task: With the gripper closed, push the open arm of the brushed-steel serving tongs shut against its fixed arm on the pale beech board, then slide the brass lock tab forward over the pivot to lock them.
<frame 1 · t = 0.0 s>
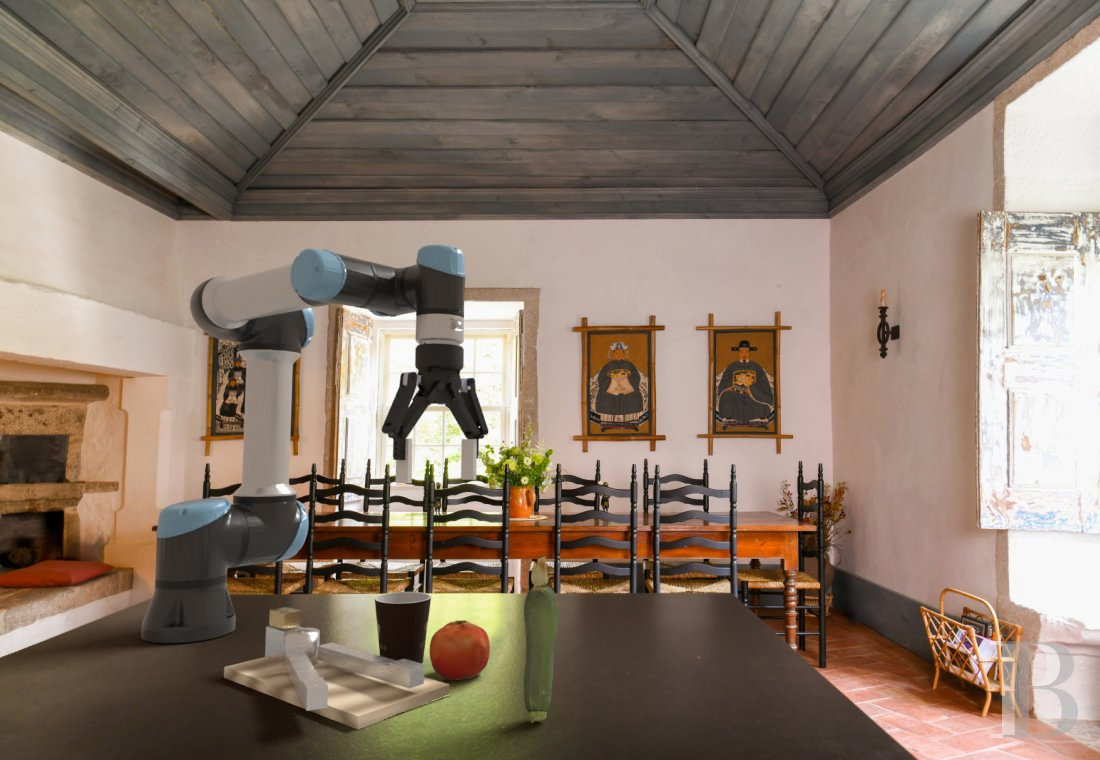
hand: (437, 481, 114), 28 cm above the table, fingers open, 13 cm apart
tomato: (460, 677, 108), on the table
board: (332, 686, 103), on the table
tong arm: (304, 674, 96), point 4 cm above the table, hinge at -25.0°
coffee mug: (405, 662, 115), on the table
lock tab: (285, 617, 112), point 7 cm above the table, slide at 0.0 cm
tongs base: (300, 673, 109), resting on board
vegetable: (540, 721, 91), on the table
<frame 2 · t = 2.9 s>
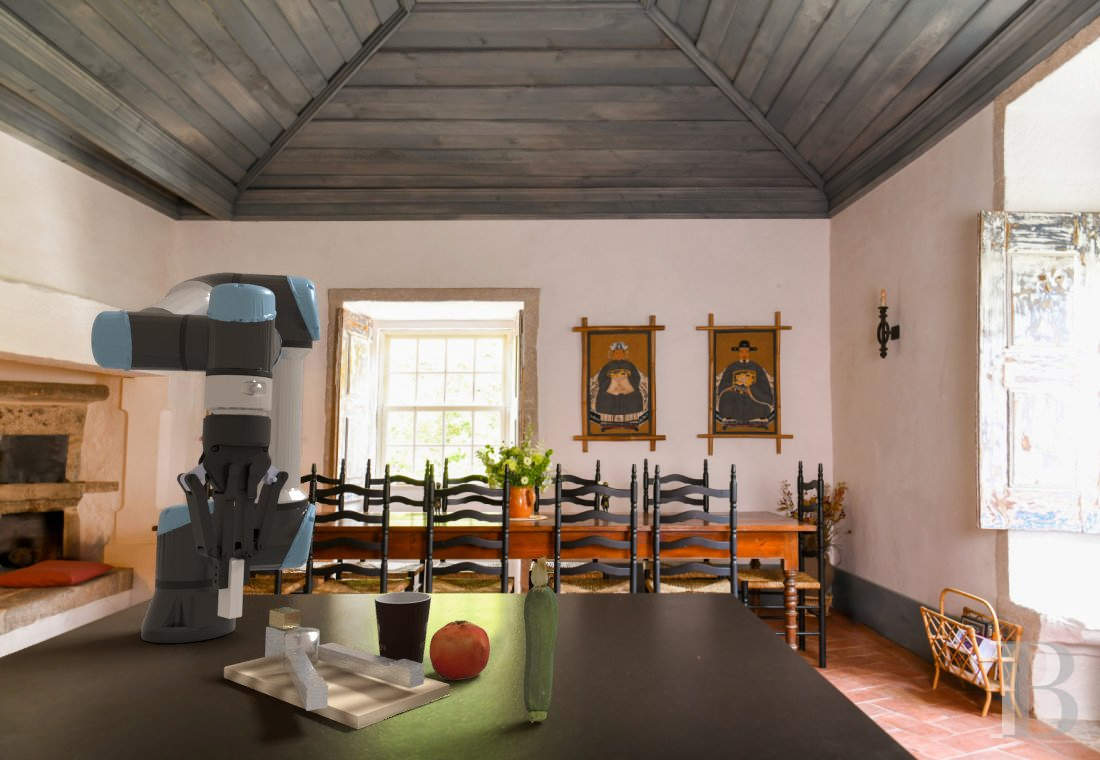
hand: (229, 615, 86), 14 cm above the table, fingers closed
nothing on the table moved.
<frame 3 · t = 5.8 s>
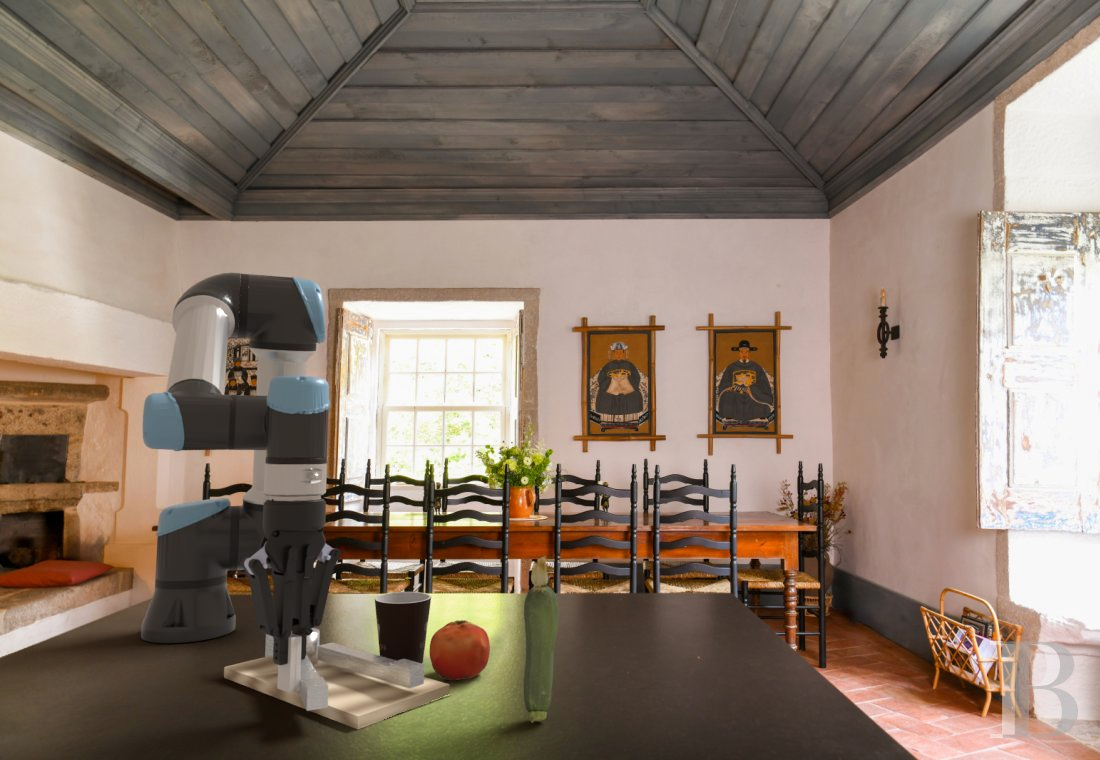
hand: (288, 689, 92), 3 cm above the table, fingers closed
tong arm: (304, 674, 96), point 4 cm above the table, hinge at -24.9°, touching gripper
everything else where it was.
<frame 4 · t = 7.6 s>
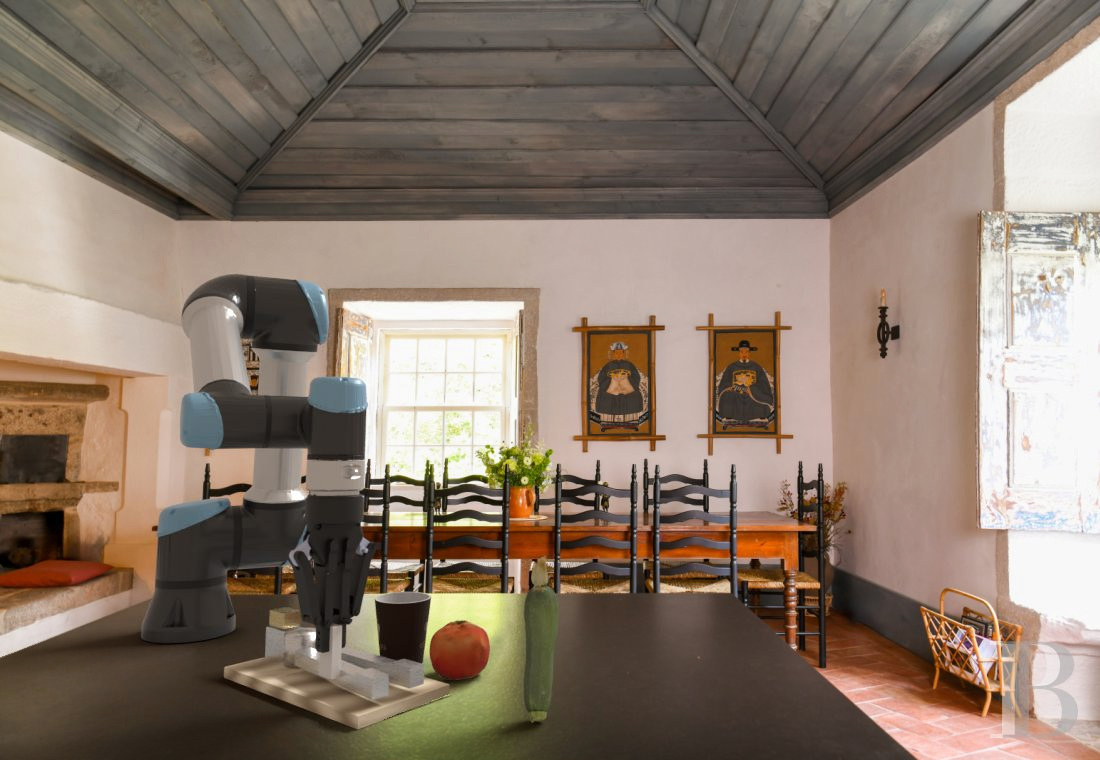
hand: (329, 675, 96), 4 cm above the table, fingers closed
tong arm: (338, 669, 99), point 4 cm above the table, hinge at -6.2°, touching gripper
everything else where it was.
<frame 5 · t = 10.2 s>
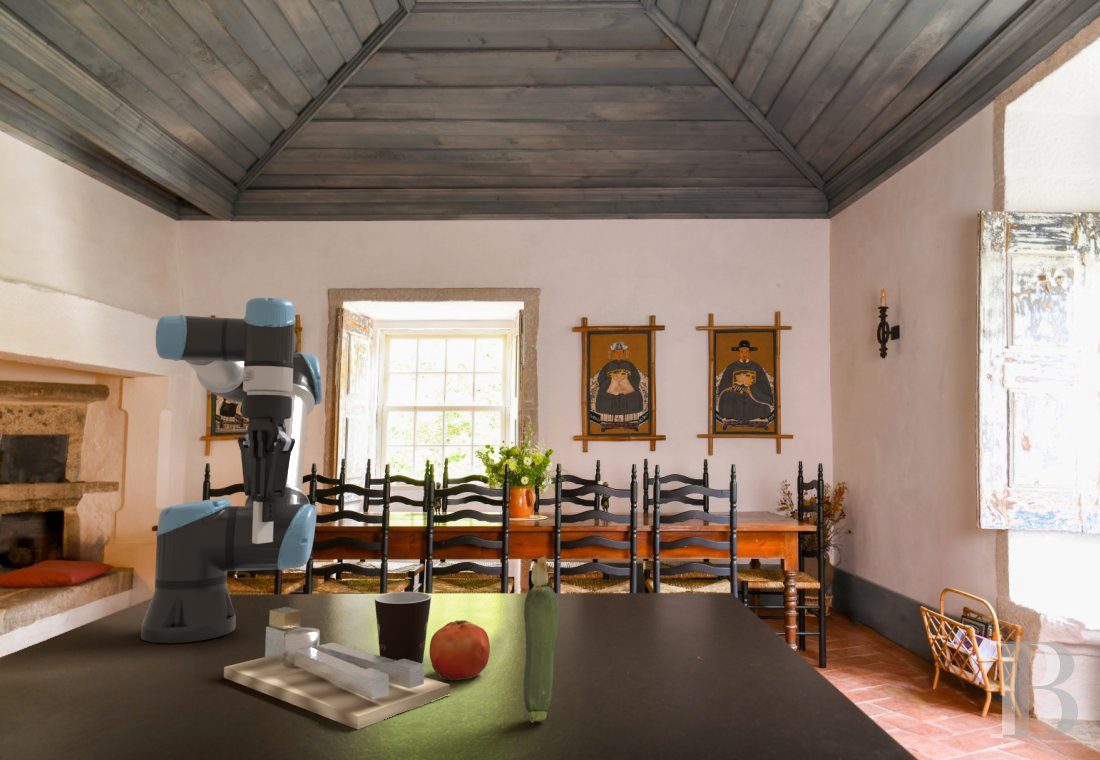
hand: (262, 542, 118), 18 cm above the table, fingers closed
tong arm: (338, 669, 99), point 4 cm above the table, hinge at -6.1°
everything else where it was.
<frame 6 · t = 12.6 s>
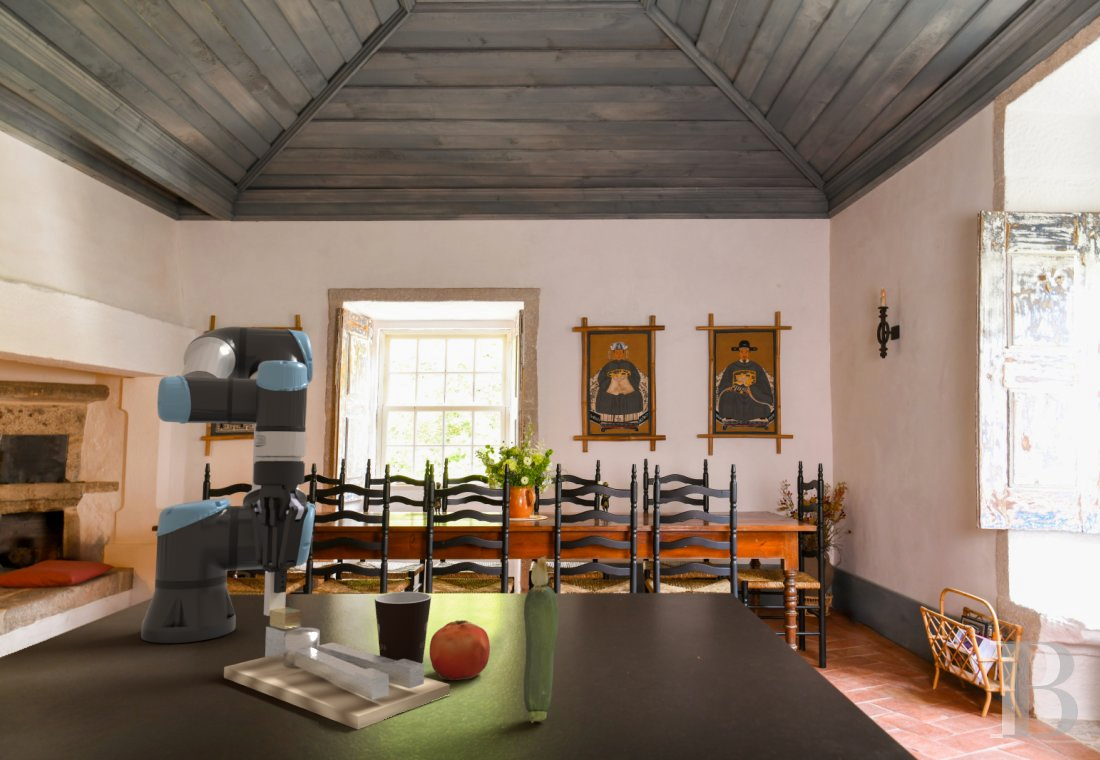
hand: (274, 613, 114), 8 cm above the table, fingers closed
lock tab: (285, 617, 112), point 7 cm above the table, slide at 0.2 cm, touching gripper
everything else where it was.
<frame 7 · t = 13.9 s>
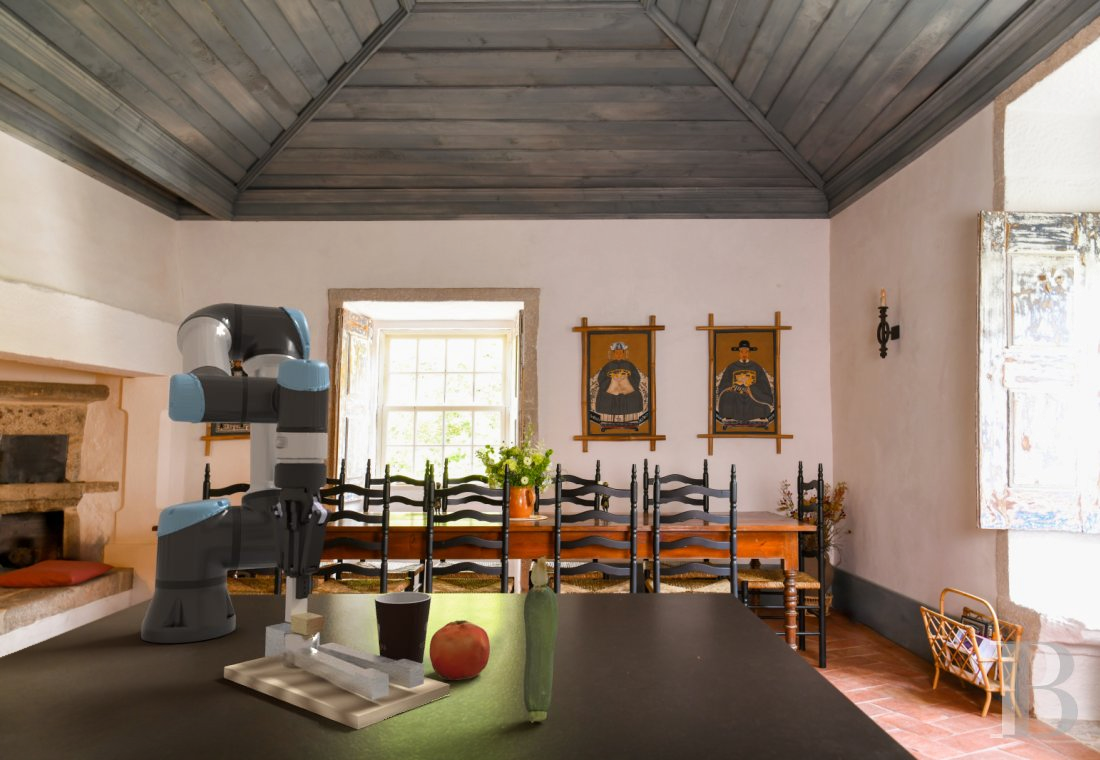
hand: (296, 620, 110), 7 cm above the table, fingers closed
lock tab: (307, 623, 109), point 7 cm above the table, slide at 5.7 cm, touching gripper
everything else where it was.
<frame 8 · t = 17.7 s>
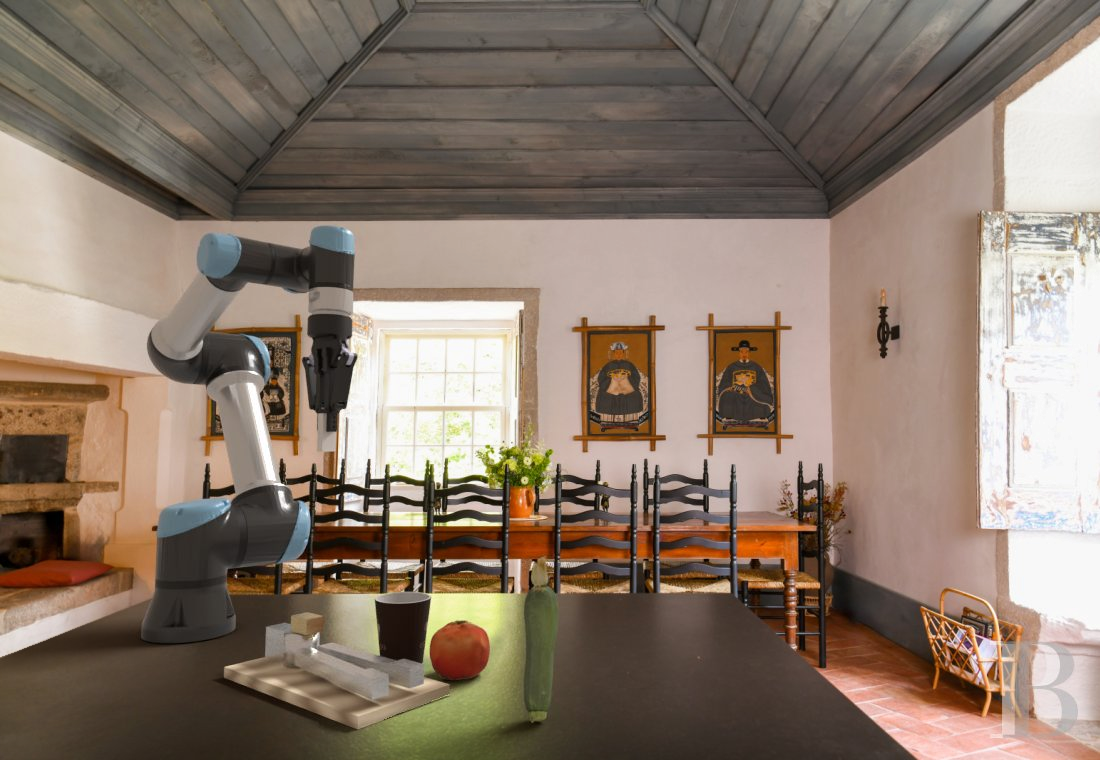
hand: (326, 451, 127), 32 cm above the table, fingers closed
lock tab: (307, 623, 109), point 7 cm above the table, slide at 5.7 cm
everything else where it was.
at the end: tong arm at -6° (first picture: -25°); lock tab slide at 5.7 cm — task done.
